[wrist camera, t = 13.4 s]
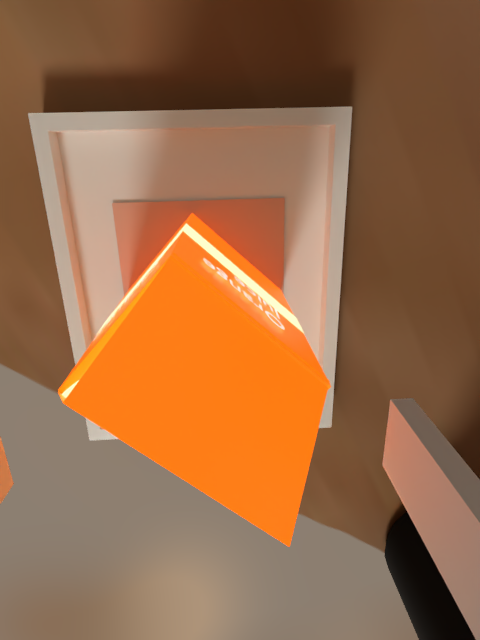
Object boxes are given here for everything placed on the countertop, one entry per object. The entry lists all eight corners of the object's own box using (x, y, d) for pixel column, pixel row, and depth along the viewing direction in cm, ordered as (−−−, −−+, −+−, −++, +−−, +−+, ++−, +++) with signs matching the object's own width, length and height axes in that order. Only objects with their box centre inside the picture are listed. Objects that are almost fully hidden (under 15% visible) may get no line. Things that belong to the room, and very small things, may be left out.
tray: (42, 117, 27) (27, 113, 25) (341, 111, 28) (352, 106, 26) (97, 423, 35) (89, 440, 33) (324, 411, 36) (331, 427, 34)
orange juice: (192, 210, 29) (148, 294, 10) (282, 289, 31) (384, 477, 12) (125, 291, 30) (-18, 492, 12) (216, 360, 33) (216, 617, 14)
